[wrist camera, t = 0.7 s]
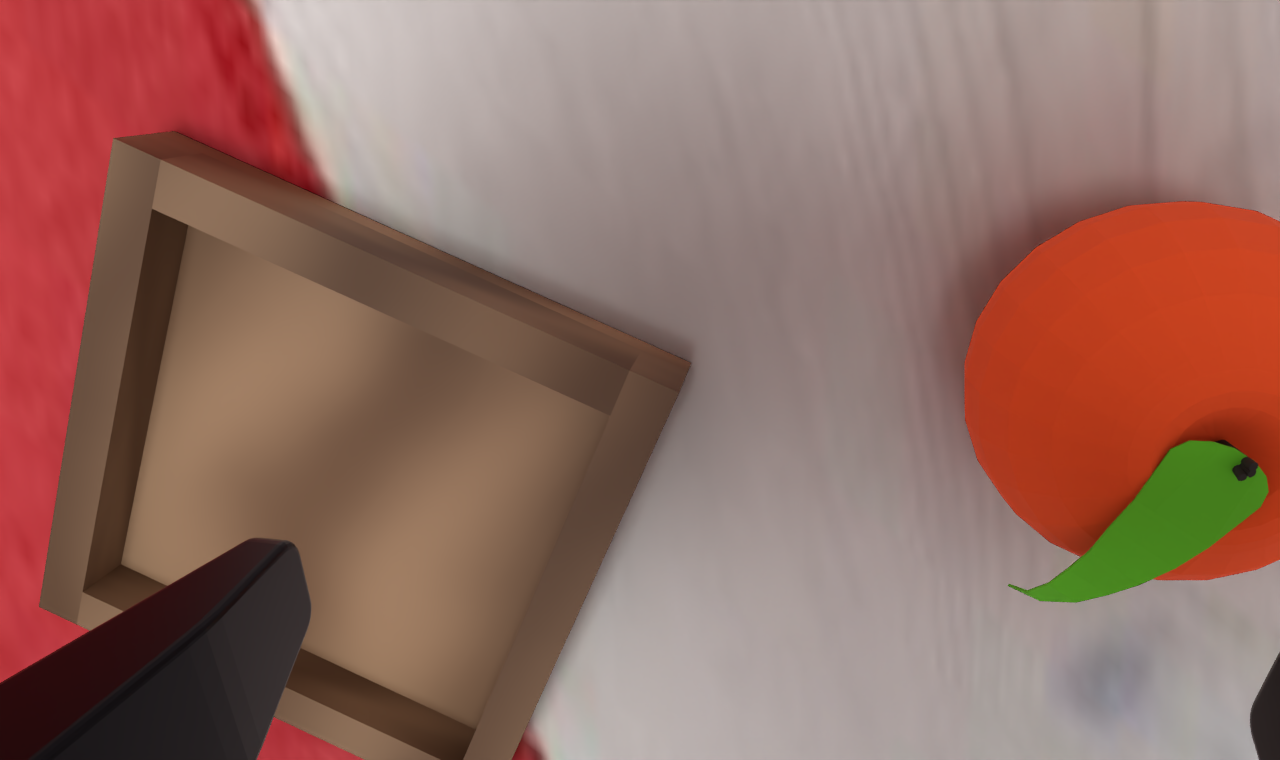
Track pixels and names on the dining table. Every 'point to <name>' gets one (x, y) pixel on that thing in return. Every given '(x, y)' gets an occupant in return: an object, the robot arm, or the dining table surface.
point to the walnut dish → (346, 446)
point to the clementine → (1137, 395)
